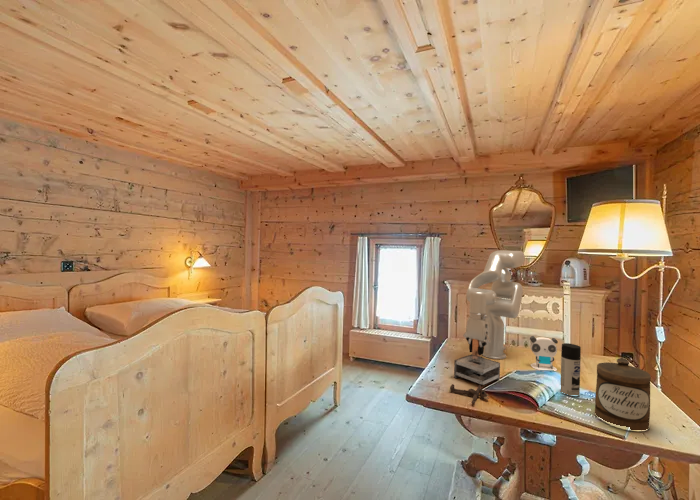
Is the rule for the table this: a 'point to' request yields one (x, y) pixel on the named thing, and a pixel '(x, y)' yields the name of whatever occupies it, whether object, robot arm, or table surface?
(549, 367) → the panda figurine
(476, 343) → the tube
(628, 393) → the wooden container
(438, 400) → the table surface
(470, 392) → the bear figurine
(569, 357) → the spray can
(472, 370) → the frame
